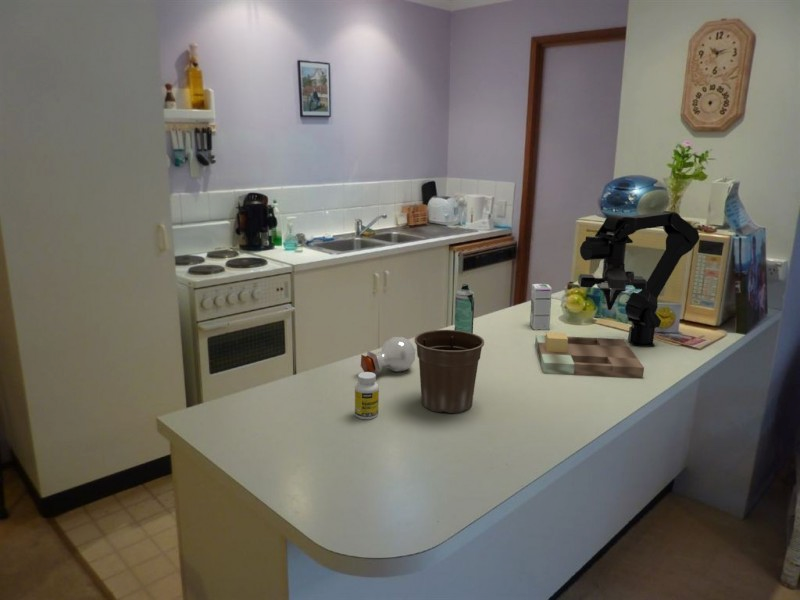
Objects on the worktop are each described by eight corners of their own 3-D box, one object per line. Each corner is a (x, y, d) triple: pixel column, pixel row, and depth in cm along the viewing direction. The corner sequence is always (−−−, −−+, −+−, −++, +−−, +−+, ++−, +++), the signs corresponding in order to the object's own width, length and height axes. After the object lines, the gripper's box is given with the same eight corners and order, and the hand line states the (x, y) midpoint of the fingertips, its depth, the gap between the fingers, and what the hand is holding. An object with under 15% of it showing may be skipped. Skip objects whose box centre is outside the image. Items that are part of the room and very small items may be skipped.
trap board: (622, 348, 188) (623, 339, 187) (642, 378, 165) (644, 367, 164) (535, 344, 191) (535, 335, 190) (543, 373, 168) (544, 362, 167)
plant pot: (444, 384, 160) (446, 324, 155) (495, 403, 148) (498, 339, 144) (399, 402, 149) (400, 338, 144) (450, 424, 137) (452, 356, 133)
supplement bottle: (360, 421, 138) (360, 381, 136) (351, 412, 143) (350, 372, 140) (382, 417, 141) (382, 376, 138) (372, 408, 145) (372, 368, 143)
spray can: (475, 348, 186) (478, 284, 181) (467, 353, 182) (469, 287, 177) (458, 345, 189) (461, 281, 184) (450, 350, 185) (452, 285, 180)
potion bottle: (417, 372, 171) (371, 389, 164) (399, 345, 176) (354, 361, 168) (427, 352, 165) (379, 370, 157) (408, 325, 169) (361, 341, 162)
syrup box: (549, 330, 205) (553, 287, 201) (532, 329, 205) (534, 287, 201) (546, 325, 210) (549, 283, 207) (528, 324, 211) (531, 283, 207)
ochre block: (564, 346, 180) (565, 333, 179) (566, 352, 175) (567, 339, 174) (544, 345, 181) (545, 332, 180) (546, 351, 176) (547, 338, 175)
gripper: (586, 262, 175) (581, 315, 179) (655, 265, 173) (648, 318, 177) (579, 255, 185) (575, 305, 189) (644, 257, 183) (638, 308, 187)
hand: (609, 309), depth 185 cm, fingers closed
